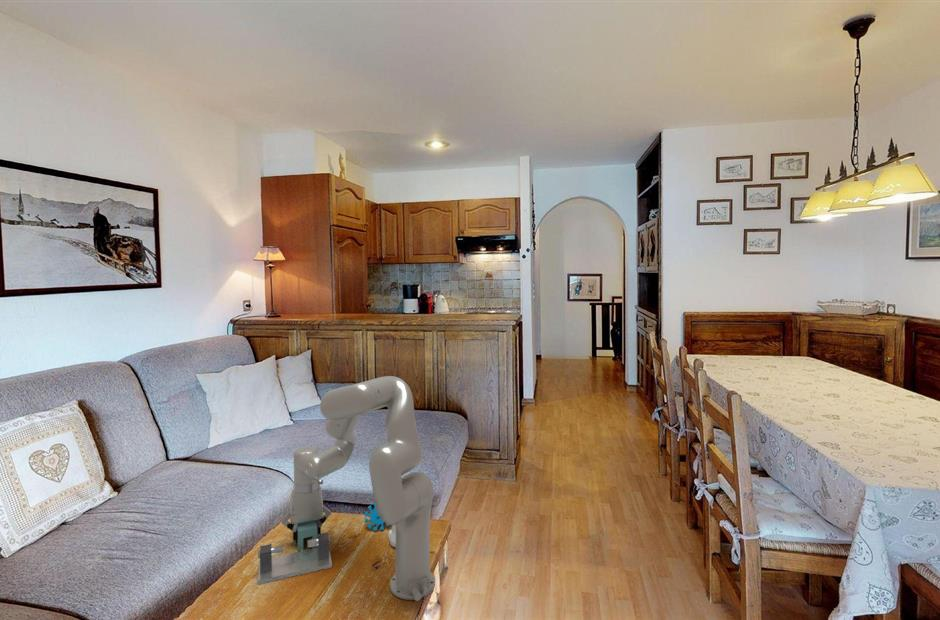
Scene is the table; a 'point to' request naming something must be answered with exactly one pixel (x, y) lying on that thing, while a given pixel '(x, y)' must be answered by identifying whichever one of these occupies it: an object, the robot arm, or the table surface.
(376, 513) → the blue lumpy piece
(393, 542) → the seated beast figurine
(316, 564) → the shaft rig
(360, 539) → the table surface
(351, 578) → the table surface
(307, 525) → the teal block
